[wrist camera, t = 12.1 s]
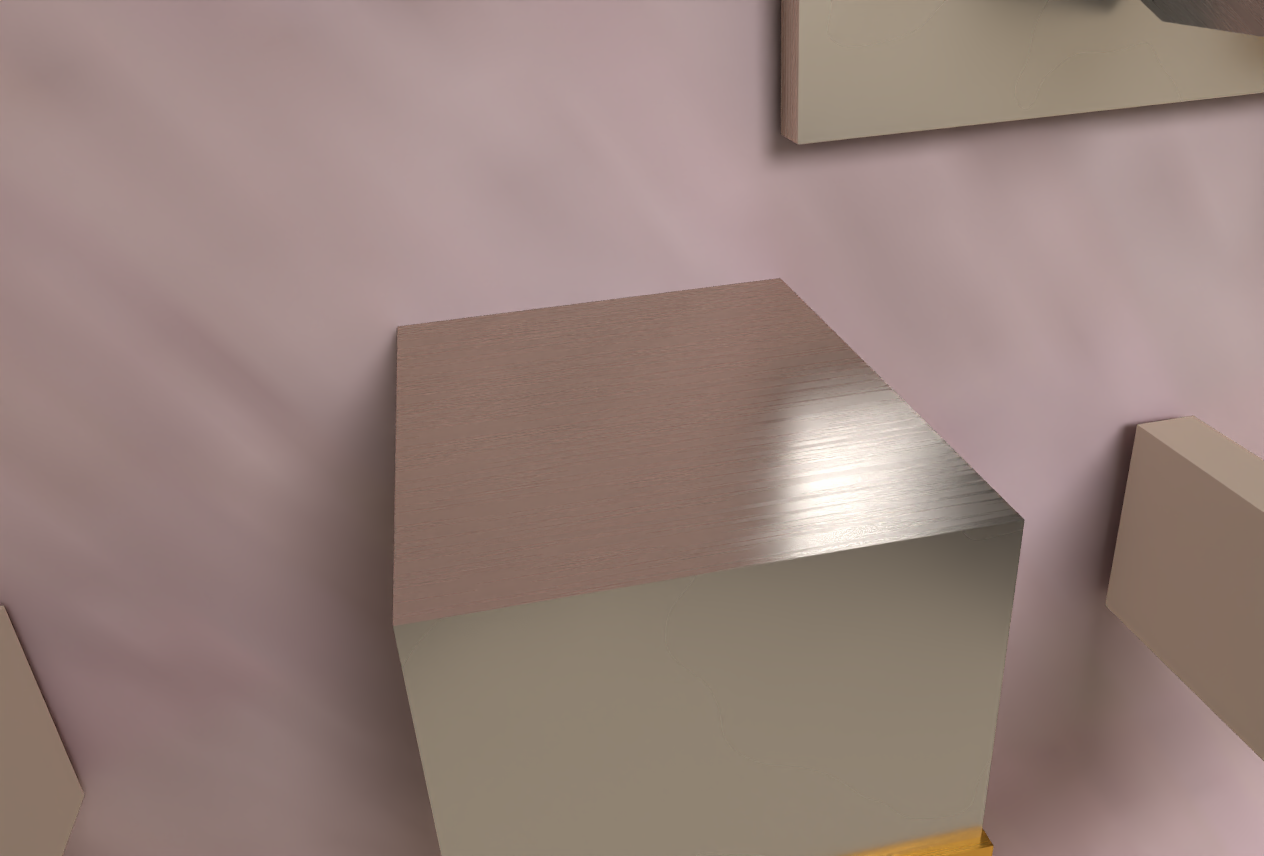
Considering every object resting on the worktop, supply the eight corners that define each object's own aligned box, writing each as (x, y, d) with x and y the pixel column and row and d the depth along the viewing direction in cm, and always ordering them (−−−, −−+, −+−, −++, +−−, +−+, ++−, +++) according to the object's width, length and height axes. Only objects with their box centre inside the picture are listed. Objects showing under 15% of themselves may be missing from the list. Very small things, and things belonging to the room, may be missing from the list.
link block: (481, 816, 14) (518, 1260, 9) (392, 322, 10) (385, 638, 6) (778, 757, 14) (949, 1147, 10) (782, 275, 11) (1038, 525, 7)
